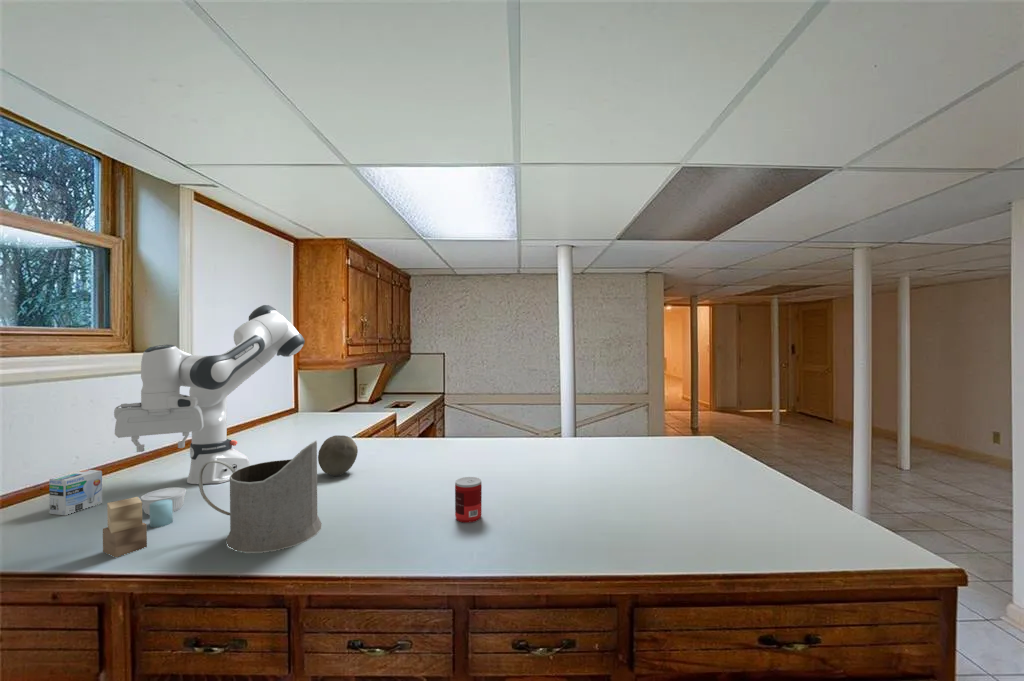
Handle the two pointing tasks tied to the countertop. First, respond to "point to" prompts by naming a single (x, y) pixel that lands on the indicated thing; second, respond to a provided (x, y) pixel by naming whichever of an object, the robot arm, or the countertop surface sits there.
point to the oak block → (124, 514)
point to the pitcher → (272, 503)
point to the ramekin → (164, 498)
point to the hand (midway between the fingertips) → (161, 449)
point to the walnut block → (124, 540)
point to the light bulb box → (75, 491)
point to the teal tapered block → (161, 513)
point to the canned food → (468, 499)
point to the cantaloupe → (337, 455)
